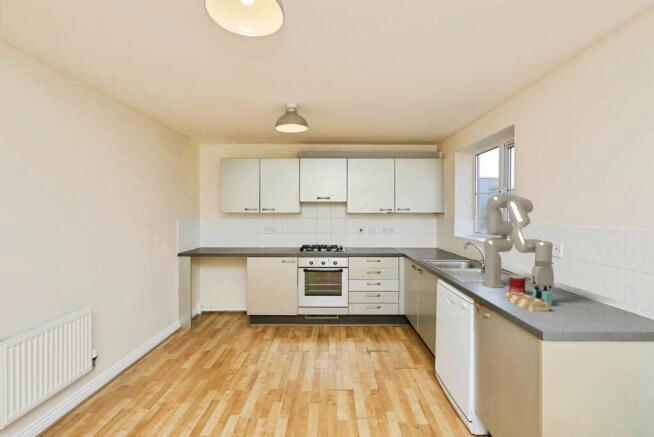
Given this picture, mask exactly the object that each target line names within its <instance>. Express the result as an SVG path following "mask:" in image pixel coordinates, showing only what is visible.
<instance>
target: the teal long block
mask: <svg viewBox="0 0 654 437" xmlns="http://www.w3.org/2000/svg"><path fill="white" fill-rule="evenodd" d="M541 292H542V299H543V301H544V302H546V303H549V307H552V302H553V301H552V300H553V299H552V298H553V293H552V292H550V291H545V290H544V289H542V288H541ZM532 297H534V298H536V299H539V298H537V297H536V290H535V288H534V287H532ZM539 300H541V299H539Z"/></svg>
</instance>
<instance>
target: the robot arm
mask: <svg viewBox="0 0 654 437" xmlns="http://www.w3.org/2000/svg"><path fill="white" fill-rule="evenodd" d="M501 209H507V211H508V214H509V217H510V219H511V221H512V223H511V221H507V220H503V216H504V215H503V211H502V210H501ZM486 210H487V226H486V227H487V228H486V229H487V230H486V231H487V234H488V235H490V236H493V237H488V238H486V239H485V240H484V242H483V248H484V276H483V277H482V279H483V280H484V281H482V282H481V285H482V286H484V287H487V288H494V289H496V288H497V289H500V288H503V287H504V283H502V257H501V254H500V253H509V252H510V251H511V250H512V249H513V246H514V248H515V249H516V250H517V251H518V252H519V253H522V254H528V253H529V254H531V253H532V254H534V265H533V266H532V268H531V269H532V270H531V275H530V284H529V285H530V286H531V287H532V288H535V290H536V297H537V298H539V299H540V300H542V299H543V297H542V292H541V289H542V286H543V290H545V291H548V292H550V290H551V289H552V288H554V287H555V283H554V281H555V276H554V275H555V274H554V267H553V265H554V262H553V243H552V242H551V241H547V240H541V239H538V238H537V239H536V238H534V239H533V238H532V239H531V238H524V236H523V233H522V229H523V228H526V227H527V226H528V225H530V224H531V219H530V217H529V215H528V214H530V213H531V212H533V210H534V204H533V203H532V201H531V200H529V199H528V198H524V197H522V196H519V195H517V194H493V195H491V196H490V197H489V198H488V199H487V202H486ZM494 236H495V237H494ZM497 236H498V237H497Z"/></svg>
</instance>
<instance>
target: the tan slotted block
mask: <svg viewBox="0 0 654 437" xmlns="http://www.w3.org/2000/svg"><path fill="white" fill-rule="evenodd" d="M505 300H506V301H508V302H509V303H512V304H514V305H517V306H519V307H521V308H522V309H525V310H526V311H529V312H531V313H542V312H543V313H544V312H545V313H548V312H550V306H549V303H546V302H544V300H542V299H540V300H539V299H536V298H534V297H533V296H531V295H529V294H526V293H525V294H524V293H509V292H506V293H505Z"/></svg>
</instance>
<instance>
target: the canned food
mask: <svg viewBox="0 0 654 437" xmlns="http://www.w3.org/2000/svg"><path fill="white" fill-rule="evenodd" d="M508 281H509V282H508V283H509V287H508V289H509V290H508V291H509V292H508V293H524V294H526V276H524V275H520V274H510V275H509V280H508Z"/></svg>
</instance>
